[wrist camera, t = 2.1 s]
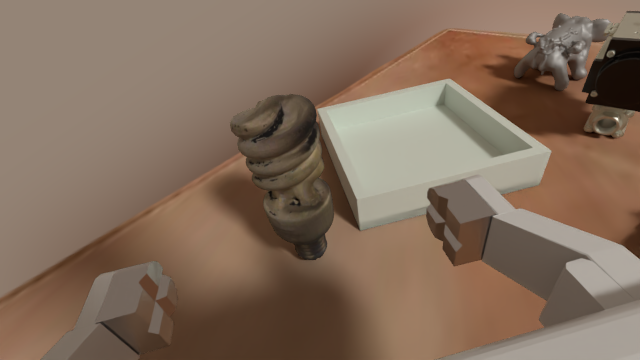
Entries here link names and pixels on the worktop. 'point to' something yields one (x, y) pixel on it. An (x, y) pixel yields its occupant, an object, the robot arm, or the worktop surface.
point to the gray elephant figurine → (563, 48)
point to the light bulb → (288, 169)
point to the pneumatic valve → (615, 78)
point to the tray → (423, 149)
